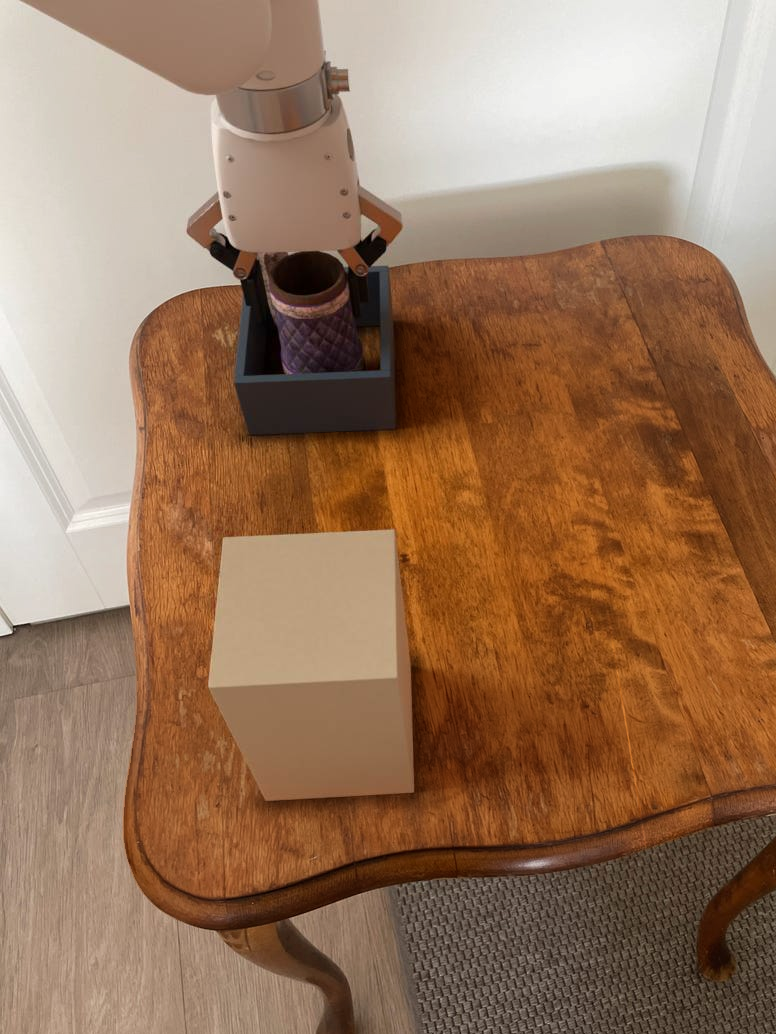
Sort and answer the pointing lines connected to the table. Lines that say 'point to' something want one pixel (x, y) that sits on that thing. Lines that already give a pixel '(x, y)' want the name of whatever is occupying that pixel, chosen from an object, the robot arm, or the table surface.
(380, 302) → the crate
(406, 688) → the block
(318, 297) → the mug
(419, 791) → the table surface
